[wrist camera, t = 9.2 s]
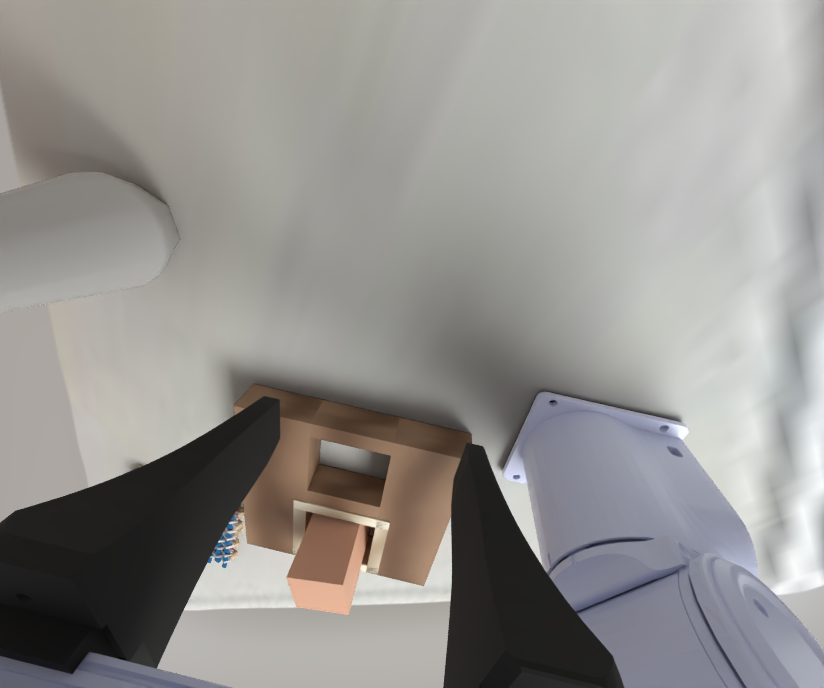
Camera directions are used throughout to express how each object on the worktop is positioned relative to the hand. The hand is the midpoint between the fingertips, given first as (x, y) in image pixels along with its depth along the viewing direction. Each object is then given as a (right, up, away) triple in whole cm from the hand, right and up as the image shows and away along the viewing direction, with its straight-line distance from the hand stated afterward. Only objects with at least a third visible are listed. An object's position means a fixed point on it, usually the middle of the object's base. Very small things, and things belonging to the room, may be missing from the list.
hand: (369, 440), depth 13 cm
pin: (-4, -11, +18) cm, 21 cm away
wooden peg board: (-3, -8, +16) cm, 18 cm away
